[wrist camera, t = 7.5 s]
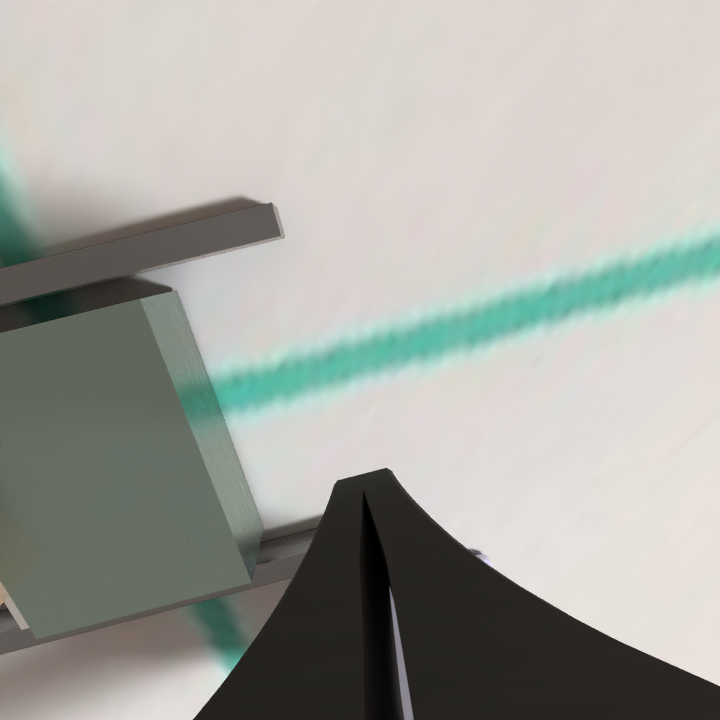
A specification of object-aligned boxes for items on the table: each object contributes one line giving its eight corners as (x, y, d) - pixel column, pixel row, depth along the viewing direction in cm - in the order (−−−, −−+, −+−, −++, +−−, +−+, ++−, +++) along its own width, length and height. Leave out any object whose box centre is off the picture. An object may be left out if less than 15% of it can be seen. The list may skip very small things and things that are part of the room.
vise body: (367, 535, 20) (377, 597, 16) (-78, 652, 20) (-170, 743, 16) (276, 207, 16) (262, 192, 12) (-303, 348, 15) (-503, 377, 11)
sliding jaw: (263, 528, 19) (251, 582, 16) (75, 577, 19) (24, 642, 16) (176, 290, 16) (139, 298, 13) (-53, 346, 16) (-149, 369, 12)
